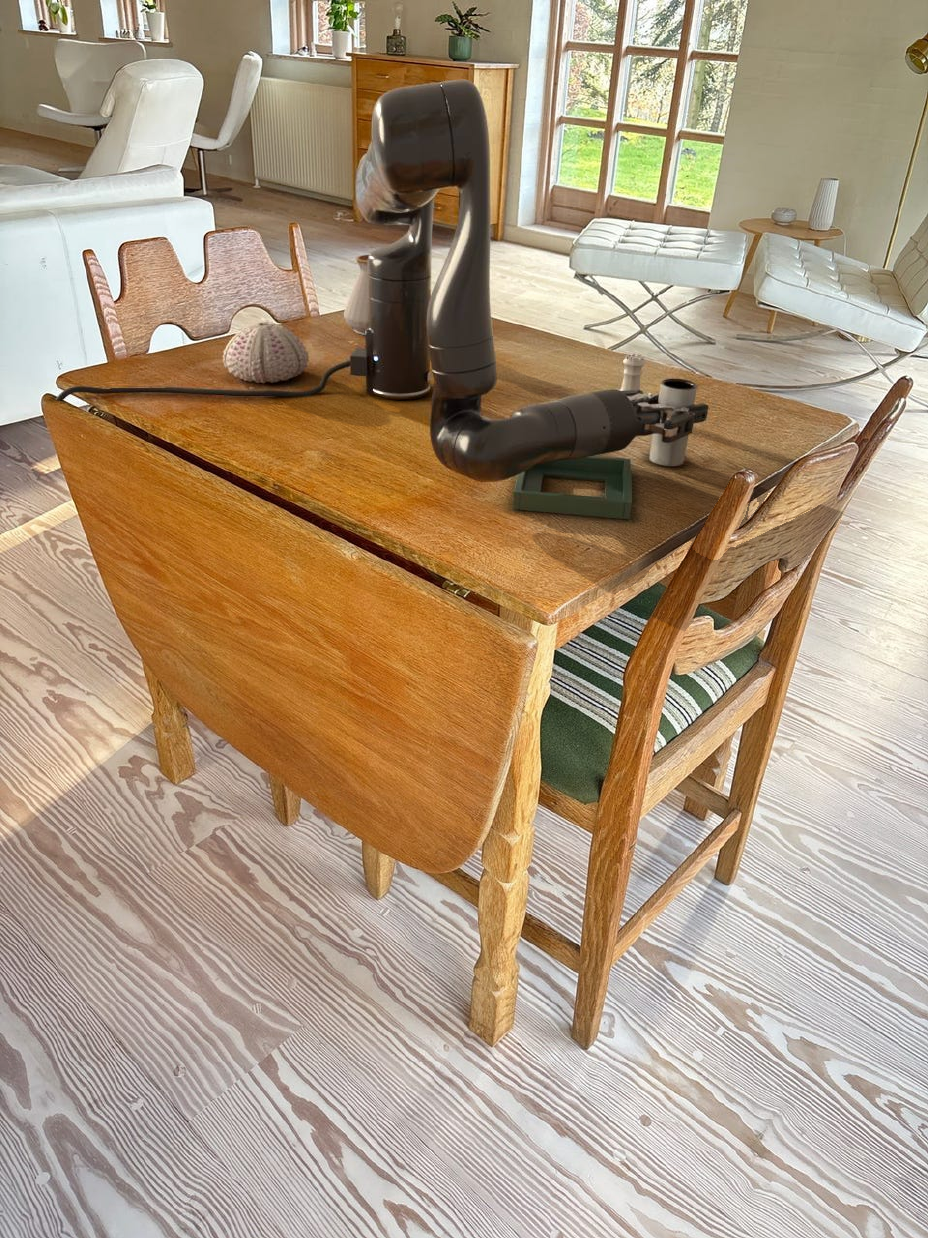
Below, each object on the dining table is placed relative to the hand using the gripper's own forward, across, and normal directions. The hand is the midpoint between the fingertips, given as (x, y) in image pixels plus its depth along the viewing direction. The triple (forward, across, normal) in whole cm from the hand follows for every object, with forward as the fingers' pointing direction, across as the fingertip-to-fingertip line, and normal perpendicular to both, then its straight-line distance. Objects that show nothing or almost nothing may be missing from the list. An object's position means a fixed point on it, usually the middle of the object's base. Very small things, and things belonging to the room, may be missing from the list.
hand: (690, 405), depth 124 cm
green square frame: (-20, -2, +7) cm, 21 cm away
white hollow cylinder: (-3, 0, +7) cm, 8 cm away
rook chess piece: (+7, +19, +7) cm, 21 cm away
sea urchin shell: (-35, +58, +8) cm, 68 cm away
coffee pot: (-7, +69, +7) cm, 70 cm away
